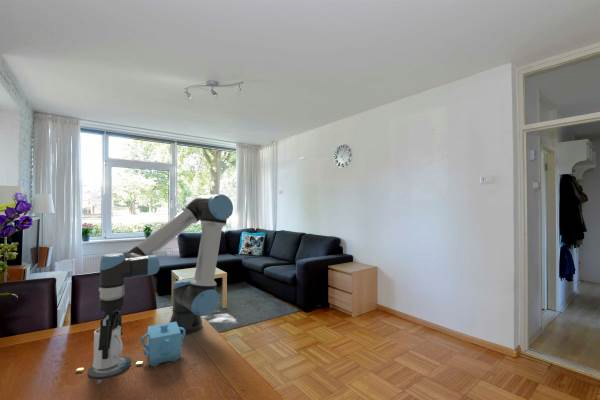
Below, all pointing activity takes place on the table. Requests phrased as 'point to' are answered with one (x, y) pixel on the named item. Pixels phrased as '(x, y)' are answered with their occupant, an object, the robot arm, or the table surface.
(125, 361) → the socket pad
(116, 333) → the mug
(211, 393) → the table surface
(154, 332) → the teapot
